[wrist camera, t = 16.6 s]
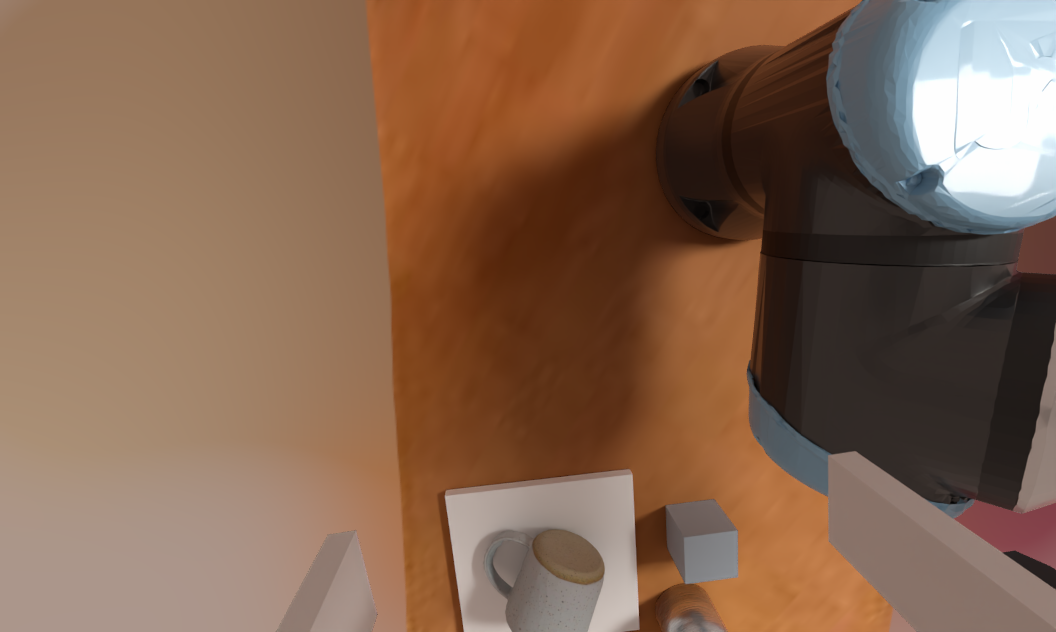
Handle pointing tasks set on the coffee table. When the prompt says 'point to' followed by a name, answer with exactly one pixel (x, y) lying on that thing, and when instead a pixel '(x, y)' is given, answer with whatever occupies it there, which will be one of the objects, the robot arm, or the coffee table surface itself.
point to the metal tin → (687, 610)
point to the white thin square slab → (531, 508)
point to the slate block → (702, 541)
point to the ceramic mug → (550, 582)
